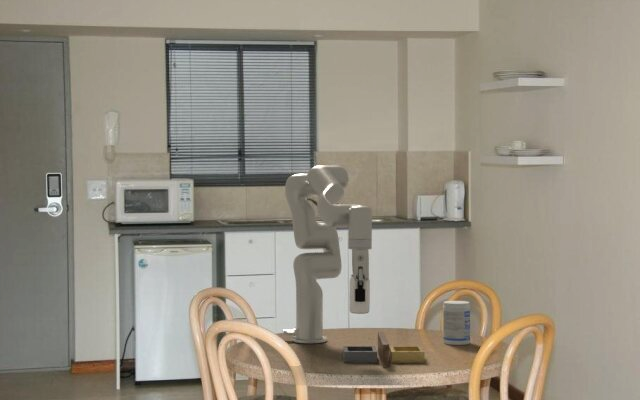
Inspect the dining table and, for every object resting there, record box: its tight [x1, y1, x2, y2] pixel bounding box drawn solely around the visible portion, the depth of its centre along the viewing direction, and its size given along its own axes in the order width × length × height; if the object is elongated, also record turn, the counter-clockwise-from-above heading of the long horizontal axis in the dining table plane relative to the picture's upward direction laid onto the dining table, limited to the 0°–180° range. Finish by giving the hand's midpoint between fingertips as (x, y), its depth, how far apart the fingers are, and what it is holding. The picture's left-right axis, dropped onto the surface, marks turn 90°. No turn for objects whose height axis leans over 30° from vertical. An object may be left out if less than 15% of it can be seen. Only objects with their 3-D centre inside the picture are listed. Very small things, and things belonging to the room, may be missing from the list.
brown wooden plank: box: [377, 331, 390, 368], centre depth 313 cm, size 2×24×7 cm, turn 0°
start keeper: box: [342, 345, 378, 364], centre depth 313 cm, size 10×10×4 cm
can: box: [349, 274, 371, 315], centre depth 313 cm, size 6×6×12 cm
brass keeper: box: [389, 345, 425, 364], centre depth 313 cm, size 10×10×4 cm
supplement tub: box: [442, 300, 471, 346], centre depth 343 cm, size 10×10×15 cm
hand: (359, 299), depth 313 cm, fingers closed on can, 6 cm apart
